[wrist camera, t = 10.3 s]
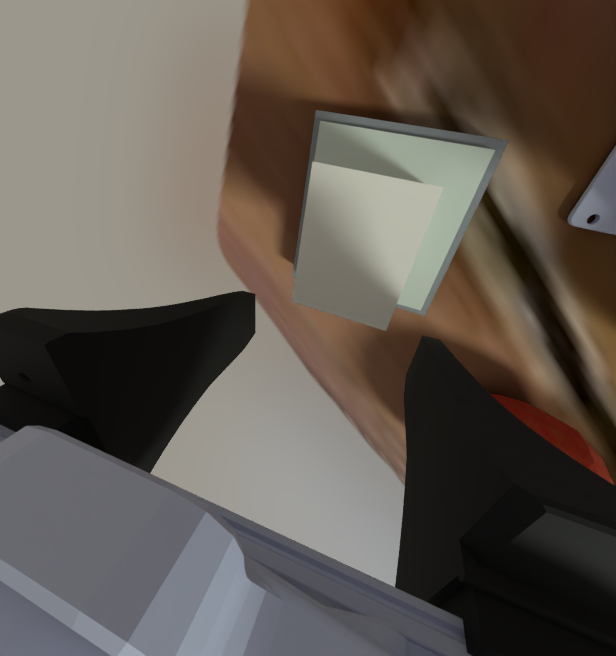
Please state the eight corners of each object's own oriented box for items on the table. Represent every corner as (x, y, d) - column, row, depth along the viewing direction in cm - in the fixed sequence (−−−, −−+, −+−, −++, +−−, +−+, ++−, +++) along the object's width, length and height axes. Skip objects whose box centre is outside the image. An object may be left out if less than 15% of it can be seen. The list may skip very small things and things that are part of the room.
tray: (497, 145, 14) (512, 139, 12) (423, 304, 19) (425, 319, 17) (325, 117, 16) (313, 107, 14) (301, 269, 21) (289, 279, 19)
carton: (426, 184, 14) (443, 187, 7) (394, 271, 17) (385, 331, 10) (355, 170, 15) (312, 161, 8) (335, 256, 17) (291, 301, 11)
